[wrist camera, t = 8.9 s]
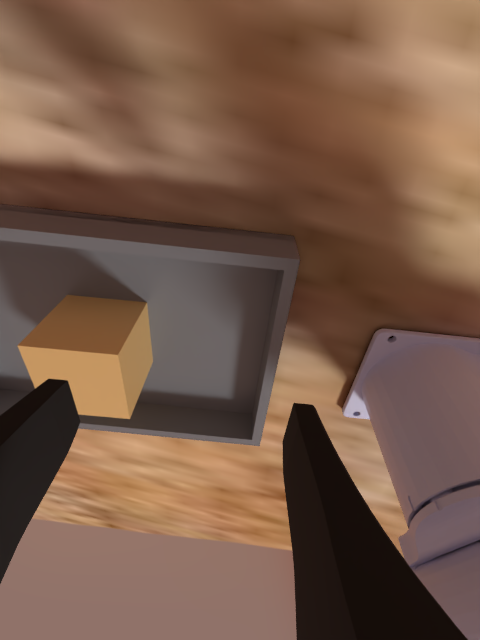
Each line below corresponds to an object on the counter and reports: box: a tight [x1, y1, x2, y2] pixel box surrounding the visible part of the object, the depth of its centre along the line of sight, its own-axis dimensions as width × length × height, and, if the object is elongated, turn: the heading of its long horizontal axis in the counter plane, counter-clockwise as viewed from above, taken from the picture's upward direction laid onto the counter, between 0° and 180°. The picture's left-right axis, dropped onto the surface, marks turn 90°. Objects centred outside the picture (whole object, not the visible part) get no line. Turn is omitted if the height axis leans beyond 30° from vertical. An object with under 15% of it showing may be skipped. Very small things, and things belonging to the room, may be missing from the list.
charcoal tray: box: [0, 204, 300, 446], centre depth 19 cm, size 20×14×3 cm
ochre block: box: [17, 295, 153, 419], centre depth 18 cm, size 5×5×5 cm
